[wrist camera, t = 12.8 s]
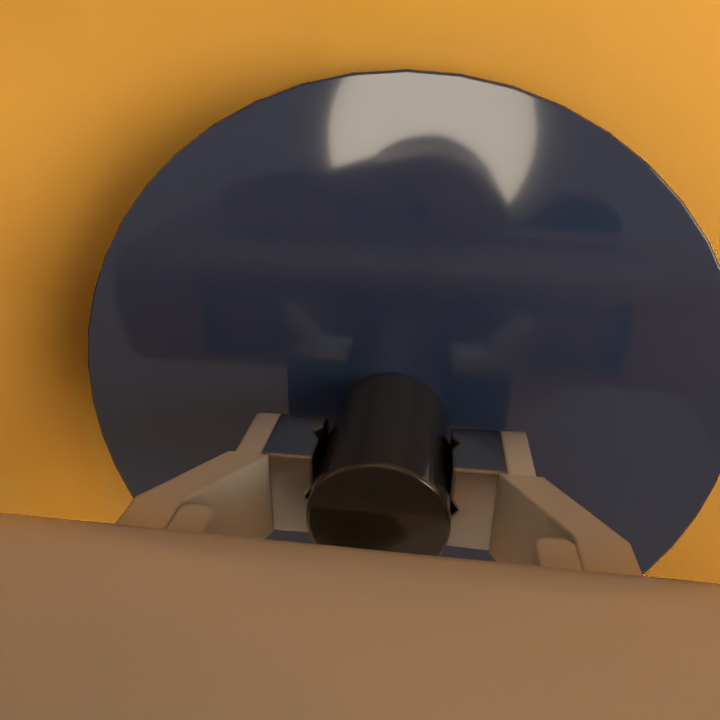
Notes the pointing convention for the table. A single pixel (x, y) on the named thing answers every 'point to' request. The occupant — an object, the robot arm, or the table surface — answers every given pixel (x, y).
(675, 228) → the pot lid
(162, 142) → the table surface
